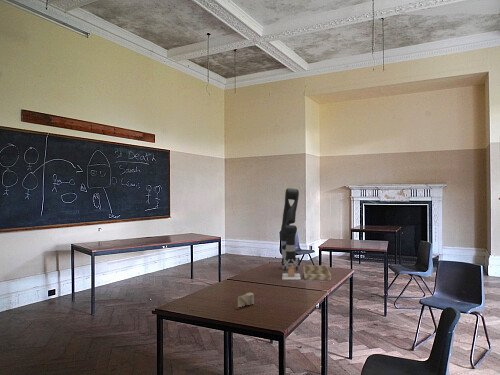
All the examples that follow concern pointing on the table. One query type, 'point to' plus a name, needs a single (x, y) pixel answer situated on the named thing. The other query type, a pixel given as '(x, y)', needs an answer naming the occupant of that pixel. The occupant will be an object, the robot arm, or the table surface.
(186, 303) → the table surface
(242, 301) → the model
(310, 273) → the frame
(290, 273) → the terracotta pot
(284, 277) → the grey mat
